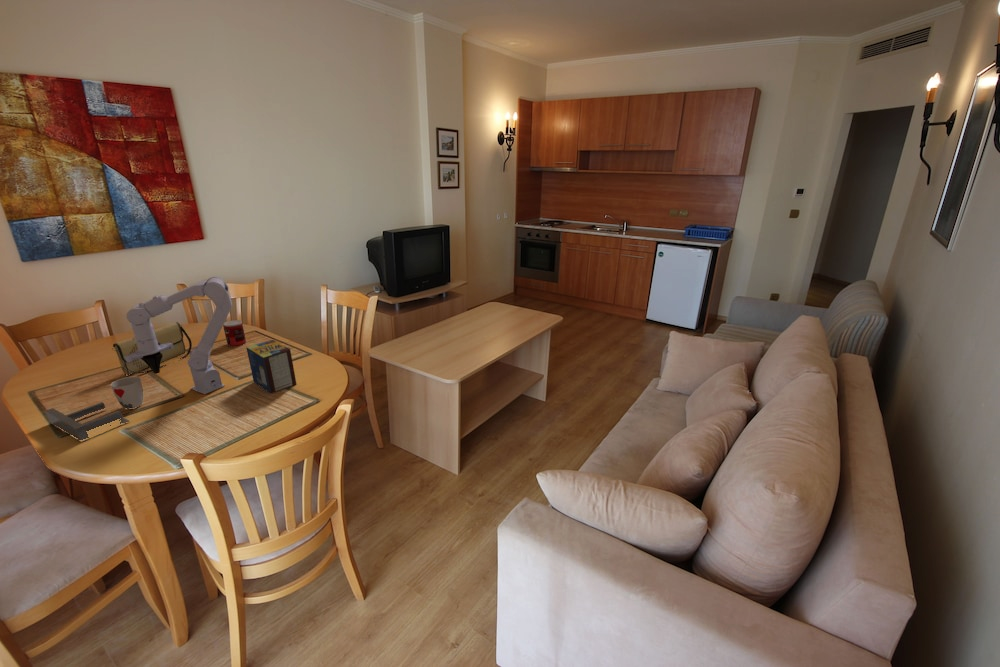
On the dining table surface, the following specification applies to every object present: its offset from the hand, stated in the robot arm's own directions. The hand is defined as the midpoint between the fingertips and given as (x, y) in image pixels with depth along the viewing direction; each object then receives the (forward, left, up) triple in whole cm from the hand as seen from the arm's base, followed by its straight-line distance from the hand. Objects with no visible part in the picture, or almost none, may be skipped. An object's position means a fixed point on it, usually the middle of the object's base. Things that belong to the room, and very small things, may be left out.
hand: (156, 372), depth 160 cm
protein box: (-28, -27, -10) cm, 40 cm away
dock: (0, +21, -9) cm, 23 cm away
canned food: (+24, -45, -10) cm, 51 cm away
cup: (0, +9, -10) cm, 14 cm away
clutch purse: (+30, -15, -10) cm, 35 cm away
